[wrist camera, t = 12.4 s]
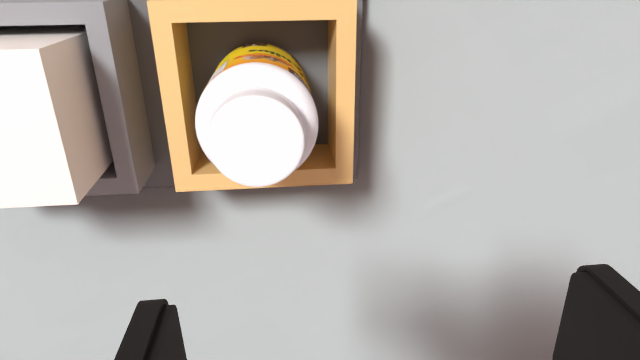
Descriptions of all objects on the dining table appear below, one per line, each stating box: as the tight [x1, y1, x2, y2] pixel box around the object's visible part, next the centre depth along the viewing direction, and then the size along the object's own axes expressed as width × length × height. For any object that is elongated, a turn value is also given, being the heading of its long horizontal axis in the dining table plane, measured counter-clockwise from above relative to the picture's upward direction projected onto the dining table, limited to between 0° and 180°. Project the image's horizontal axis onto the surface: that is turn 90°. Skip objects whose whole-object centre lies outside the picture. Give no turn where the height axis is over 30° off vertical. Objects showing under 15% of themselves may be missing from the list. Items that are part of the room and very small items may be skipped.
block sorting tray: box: [0, 0, 363, 208], centre depth 24 cm, size 24×13×9 cm, turn 90°
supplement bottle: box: [195, 42, 318, 187], centre depth 23 cm, size 6×6×10 cm
